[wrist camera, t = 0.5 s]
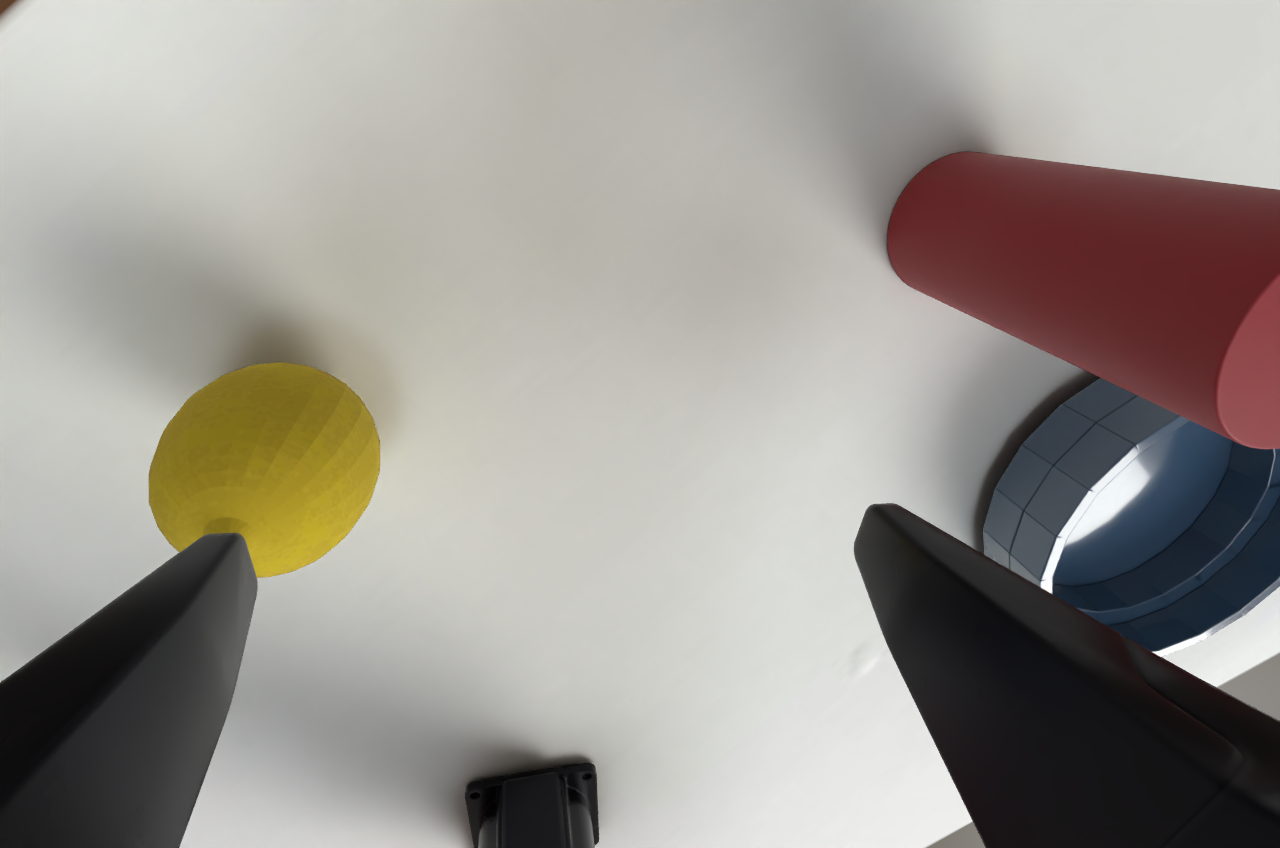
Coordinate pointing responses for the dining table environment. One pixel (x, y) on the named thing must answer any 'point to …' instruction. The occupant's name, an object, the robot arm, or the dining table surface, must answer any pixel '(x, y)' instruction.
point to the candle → (1111, 276)
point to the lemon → (267, 465)
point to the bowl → (1140, 518)
